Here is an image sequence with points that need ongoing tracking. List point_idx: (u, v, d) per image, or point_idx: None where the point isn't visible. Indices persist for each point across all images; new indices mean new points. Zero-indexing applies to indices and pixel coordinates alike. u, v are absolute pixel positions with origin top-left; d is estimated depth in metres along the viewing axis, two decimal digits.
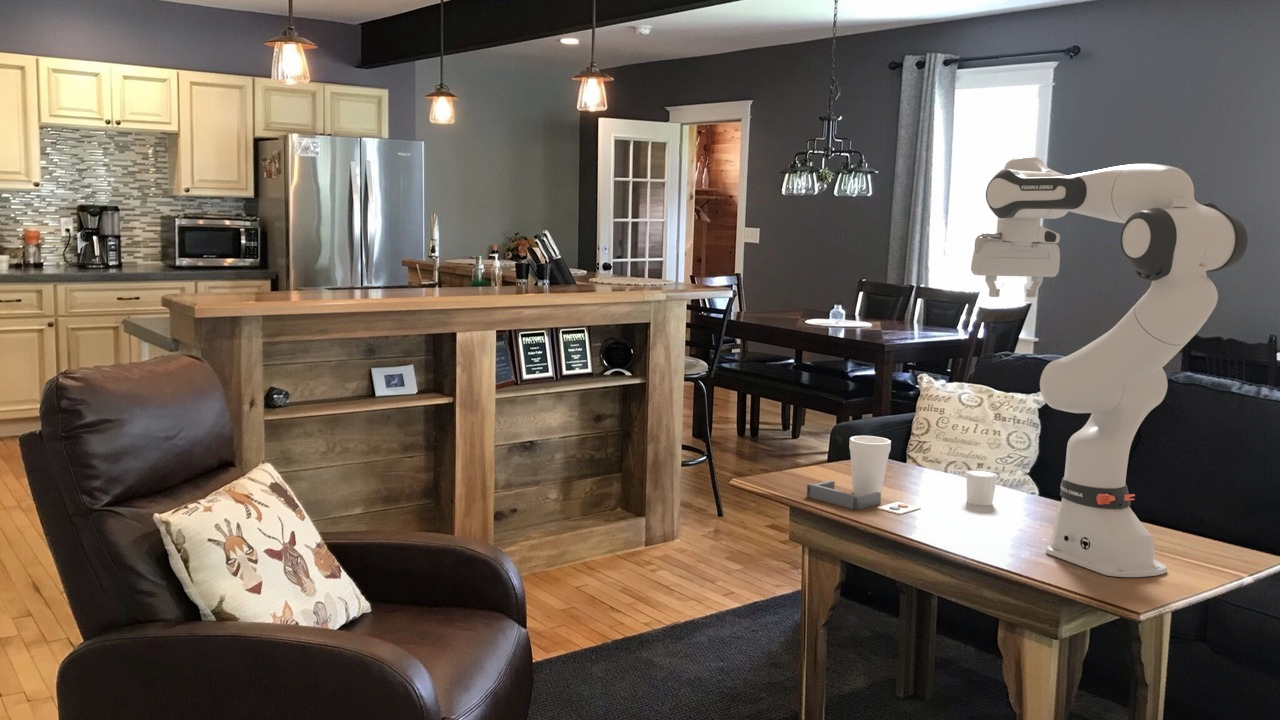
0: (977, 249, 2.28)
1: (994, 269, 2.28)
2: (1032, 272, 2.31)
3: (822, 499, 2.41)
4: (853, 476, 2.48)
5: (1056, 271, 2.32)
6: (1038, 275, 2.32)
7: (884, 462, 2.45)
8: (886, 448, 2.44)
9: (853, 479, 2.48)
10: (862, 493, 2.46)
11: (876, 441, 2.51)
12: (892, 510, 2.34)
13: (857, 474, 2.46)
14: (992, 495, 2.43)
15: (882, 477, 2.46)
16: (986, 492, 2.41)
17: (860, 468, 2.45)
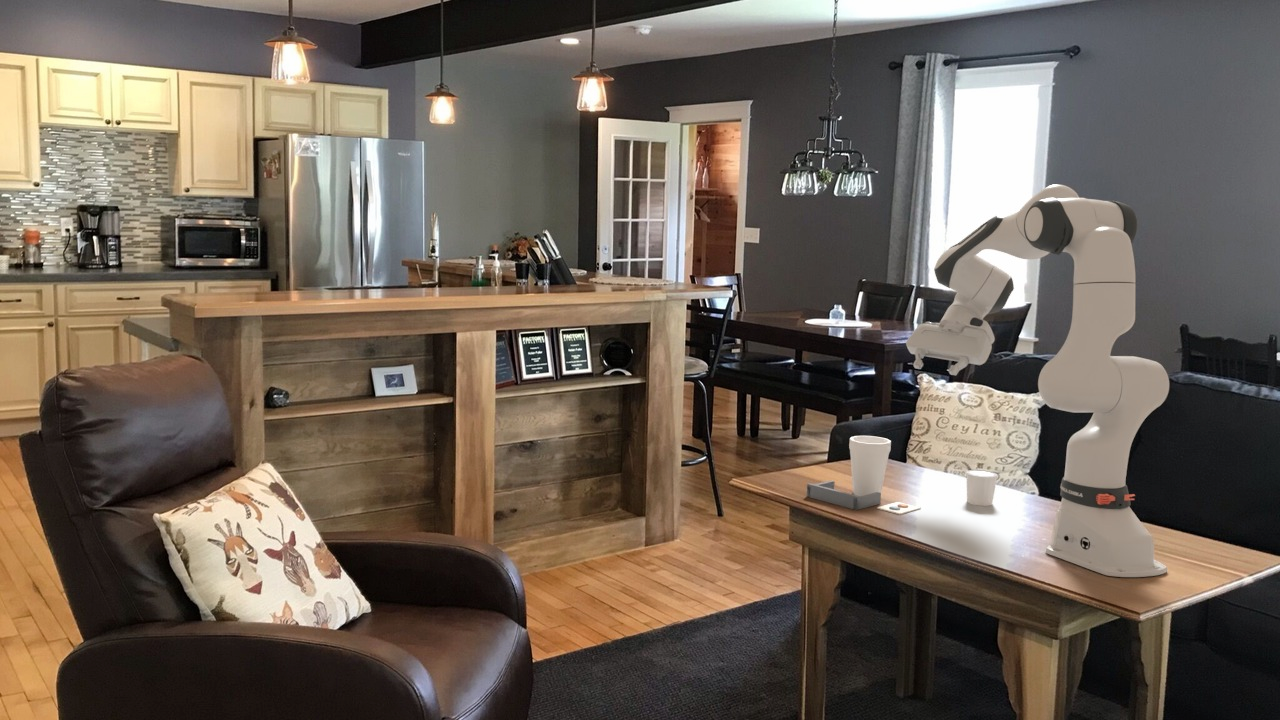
0: None
1: (918, 342, 2.57)
2: (953, 349, 2.50)
3: (822, 499, 2.41)
4: (853, 476, 2.48)
5: (977, 351, 2.45)
6: (959, 353, 2.48)
7: (884, 462, 2.45)
8: (886, 448, 2.44)
9: (853, 479, 2.48)
10: (862, 493, 2.46)
11: (876, 441, 2.51)
12: (892, 510, 2.34)
13: (857, 474, 2.46)
14: (992, 495, 2.43)
15: (882, 477, 2.46)
16: (986, 492, 2.41)
17: (860, 468, 2.45)
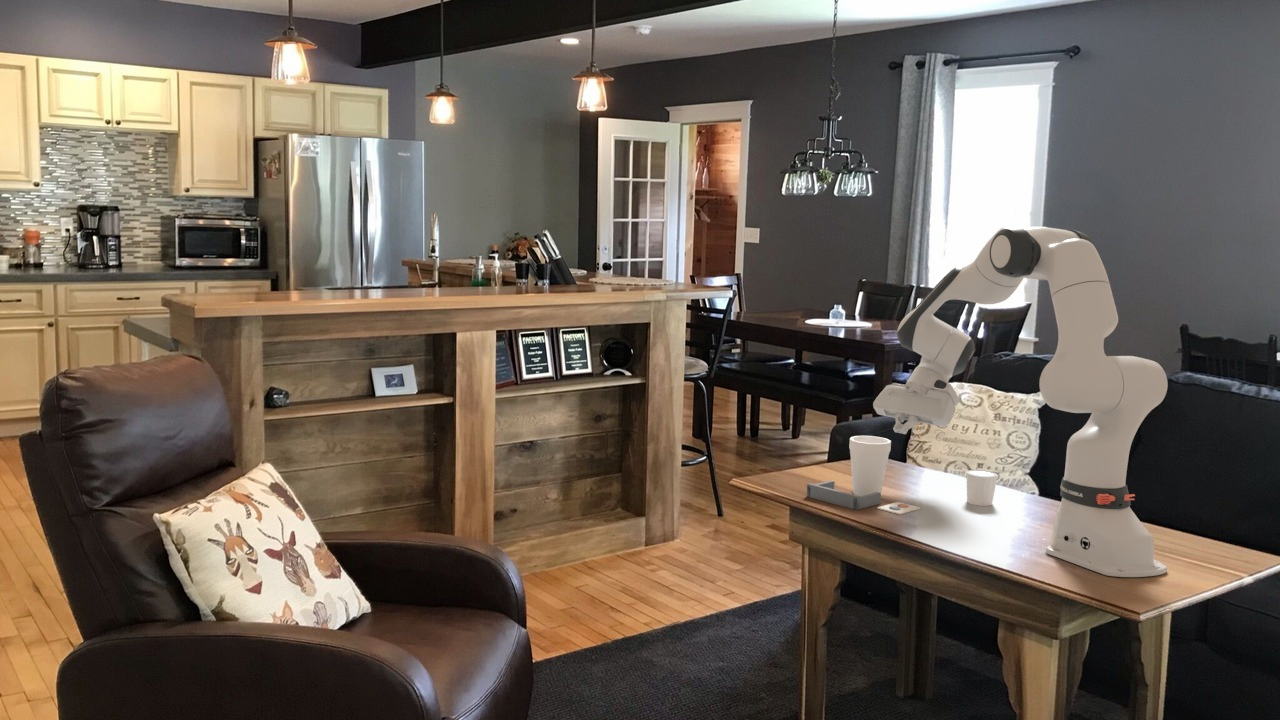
0: None
1: (884, 404, 2.61)
2: (918, 411, 2.54)
3: (822, 499, 2.41)
4: (853, 476, 2.48)
5: (940, 414, 2.49)
6: (923, 414, 2.52)
7: (884, 462, 2.45)
8: (886, 448, 2.44)
9: (853, 479, 2.48)
10: (862, 493, 2.46)
11: (876, 441, 2.51)
12: (892, 510, 2.34)
13: (857, 474, 2.46)
14: (992, 495, 2.43)
15: (882, 477, 2.46)
16: (986, 492, 2.41)
17: (860, 468, 2.45)
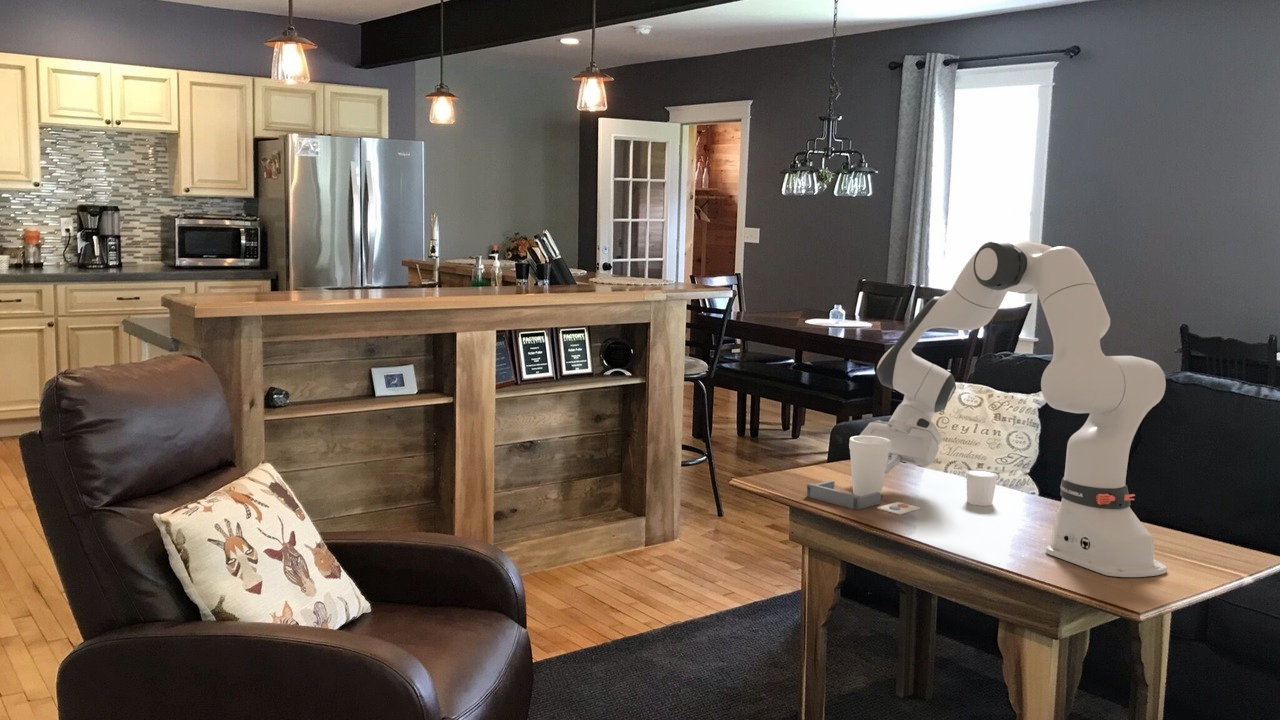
0: None
1: None
2: (900, 450, 2.51)
3: (822, 499, 2.41)
4: (853, 476, 2.48)
5: (923, 454, 2.46)
6: (905, 454, 2.49)
7: (884, 462, 2.45)
8: (886, 448, 2.44)
9: (853, 479, 2.48)
10: (862, 493, 2.46)
11: (876, 441, 2.51)
12: (892, 510, 2.34)
13: (857, 474, 2.46)
14: (992, 495, 2.43)
15: (882, 477, 2.46)
16: (986, 492, 2.41)
17: (860, 468, 2.45)
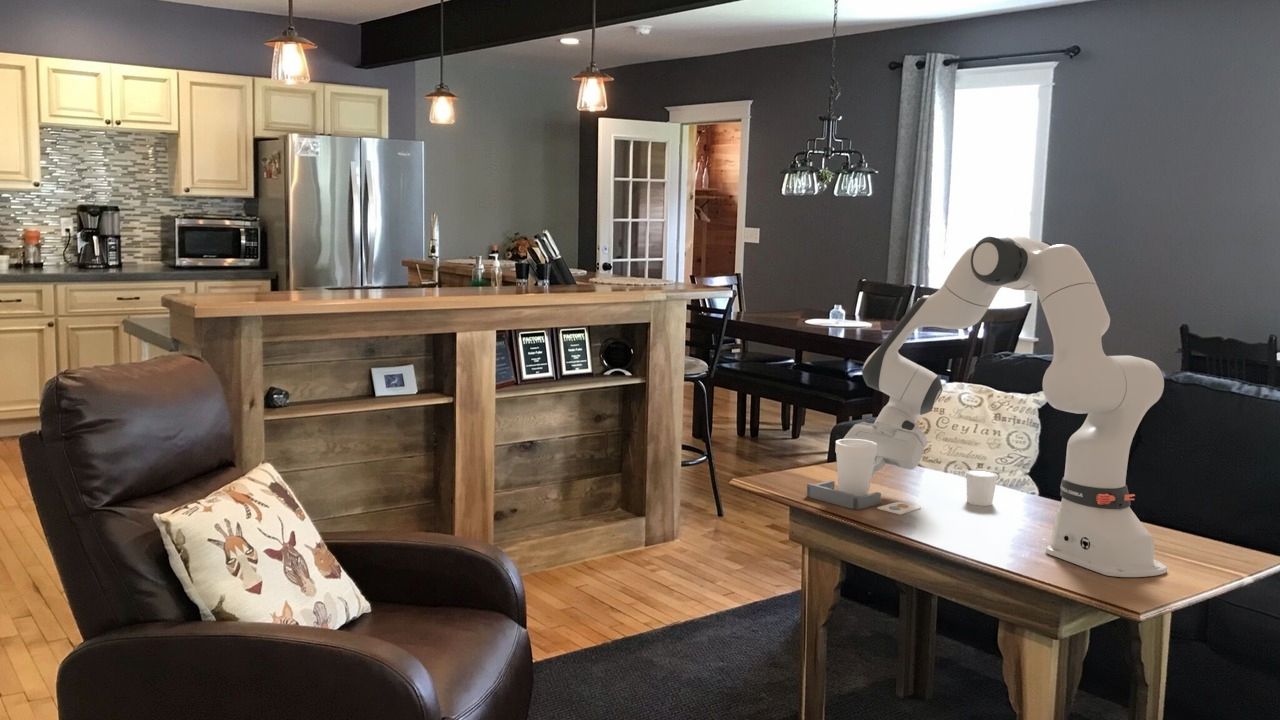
0: None
1: None
2: (885, 453, 2.47)
3: (822, 499, 2.41)
4: (840, 480, 2.43)
5: (907, 456, 2.42)
6: (890, 457, 2.45)
7: (872, 465, 2.41)
8: (874, 451, 2.40)
9: (840, 483, 2.43)
10: None
11: (860, 444, 2.47)
12: (892, 510, 2.34)
13: (845, 478, 2.41)
14: (992, 495, 2.43)
15: (869, 480, 2.42)
16: (986, 492, 2.41)
17: (848, 472, 2.40)
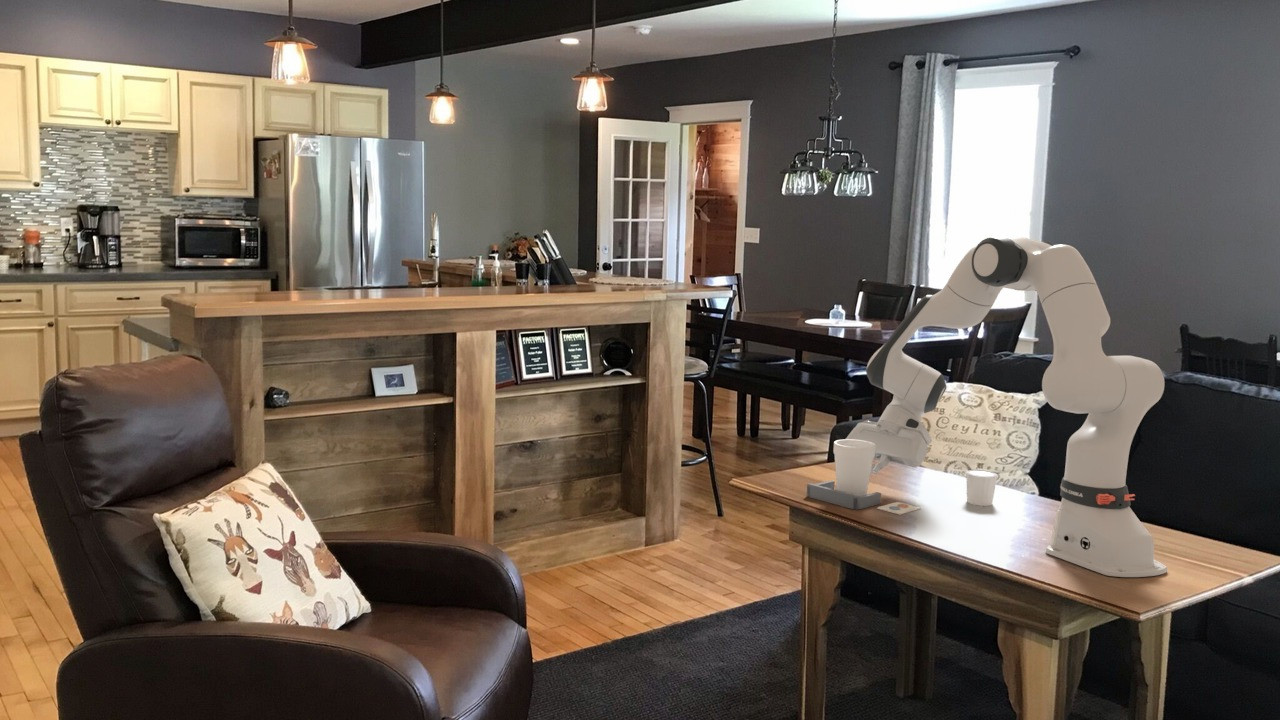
0: None
1: None
2: (889, 451, 2.48)
3: (822, 499, 2.41)
4: (838, 481, 2.42)
5: (912, 454, 2.43)
6: (894, 455, 2.46)
7: (870, 466, 2.41)
8: (872, 452, 2.40)
9: (838, 484, 2.42)
10: None
11: (858, 444, 2.46)
12: (892, 510, 2.34)
13: (843, 479, 2.41)
14: (992, 495, 2.43)
15: (868, 481, 2.42)
16: (986, 492, 2.41)
17: (847, 473, 2.40)
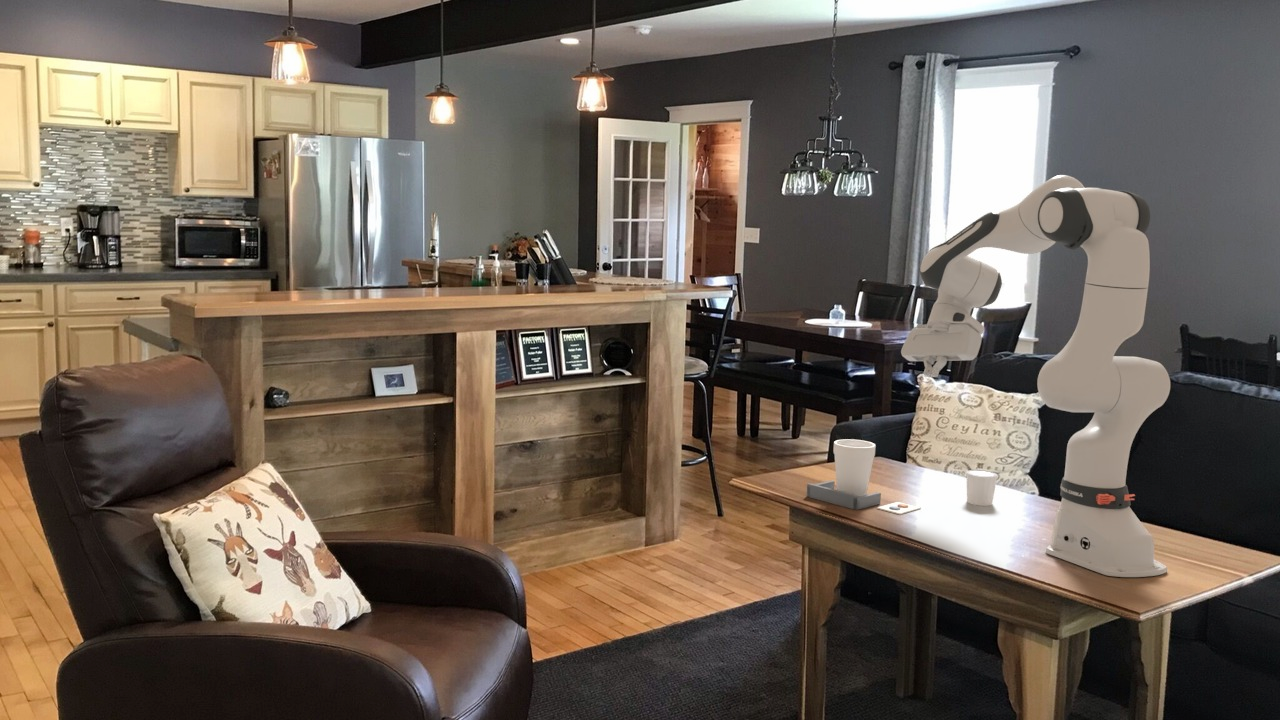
0: None
1: (911, 350, 2.52)
2: (943, 350, 2.44)
3: (822, 499, 2.41)
4: (838, 481, 2.42)
5: (964, 348, 2.39)
6: (948, 353, 2.42)
7: (870, 466, 2.41)
8: (872, 452, 2.40)
9: (838, 484, 2.42)
10: None
11: (858, 444, 2.46)
12: (892, 510, 2.34)
13: (843, 479, 2.41)
14: (992, 495, 2.43)
15: (868, 481, 2.42)
16: (986, 492, 2.41)
17: (847, 473, 2.40)
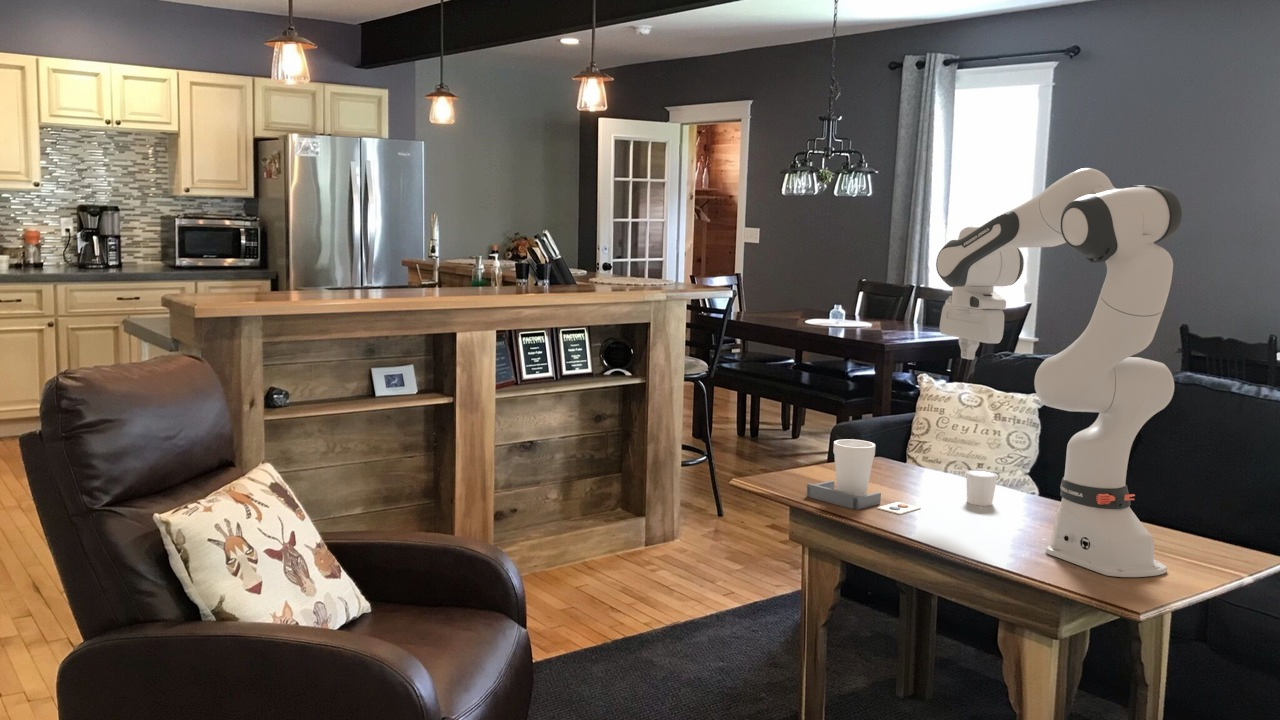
0: None
1: (946, 329, 2.47)
2: (970, 336, 2.38)
3: (822, 499, 2.41)
4: (838, 481, 2.42)
5: (986, 337, 2.32)
6: (975, 339, 2.36)
7: (870, 466, 2.41)
8: (872, 452, 2.40)
9: (838, 484, 2.42)
10: None
11: (858, 444, 2.46)
12: (892, 510, 2.34)
13: (843, 479, 2.41)
14: (992, 495, 2.43)
15: (867, 481, 2.42)
16: (986, 492, 2.41)
17: (847, 473, 2.40)
